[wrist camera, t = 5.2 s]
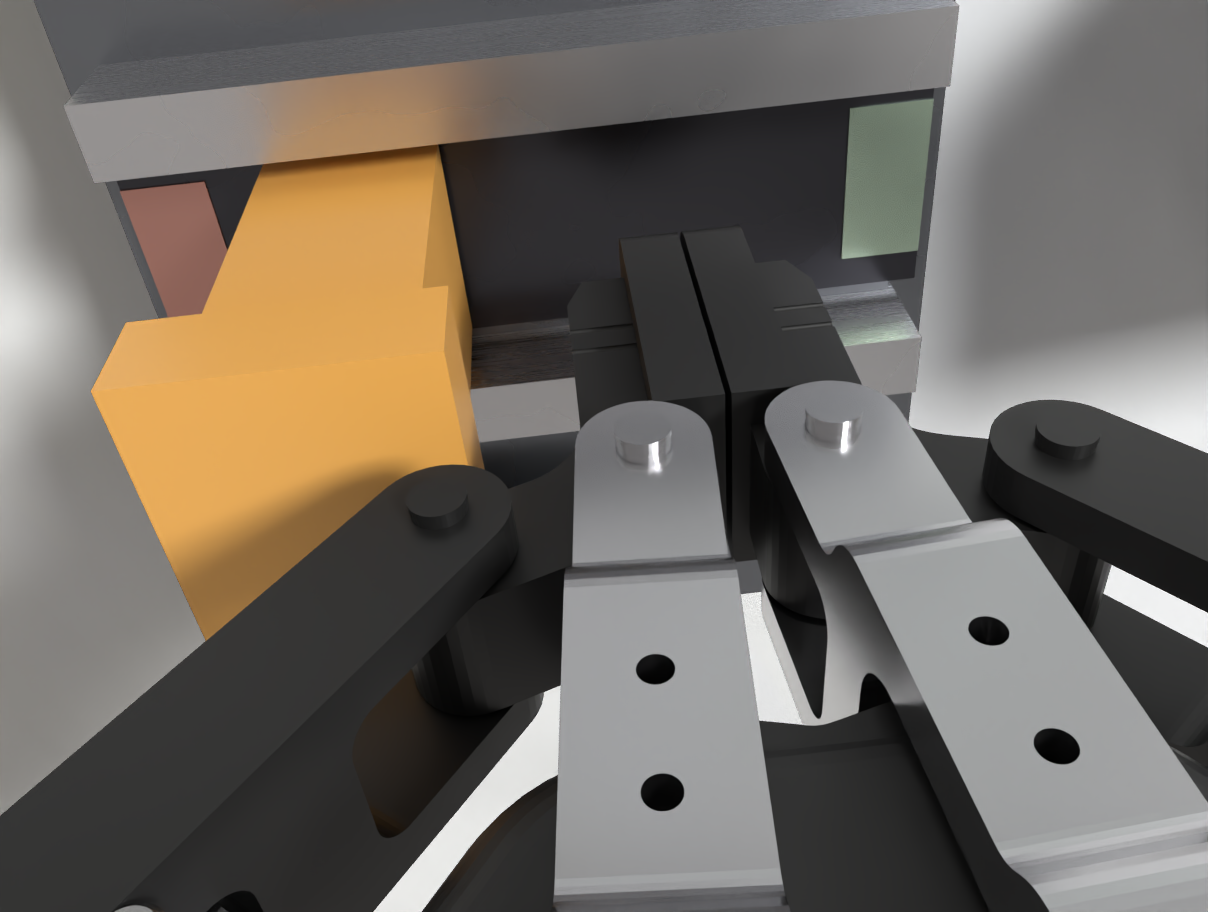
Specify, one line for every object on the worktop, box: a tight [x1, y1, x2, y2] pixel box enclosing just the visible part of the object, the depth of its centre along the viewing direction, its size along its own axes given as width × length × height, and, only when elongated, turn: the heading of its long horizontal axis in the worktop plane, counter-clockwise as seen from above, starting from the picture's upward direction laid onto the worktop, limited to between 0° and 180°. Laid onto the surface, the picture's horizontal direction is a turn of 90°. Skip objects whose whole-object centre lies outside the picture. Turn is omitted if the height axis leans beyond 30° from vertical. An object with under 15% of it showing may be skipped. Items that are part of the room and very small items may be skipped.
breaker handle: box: [91, 144, 485, 641], centre depth 14 cm, size 3×4×6 cm
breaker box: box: [34, 0, 959, 594], centre depth 18 cm, size 12×17×6 cm
